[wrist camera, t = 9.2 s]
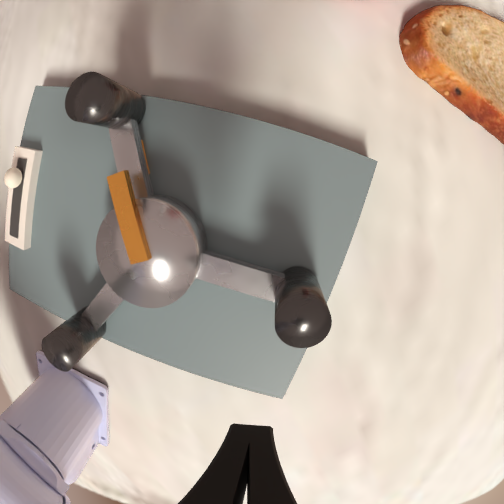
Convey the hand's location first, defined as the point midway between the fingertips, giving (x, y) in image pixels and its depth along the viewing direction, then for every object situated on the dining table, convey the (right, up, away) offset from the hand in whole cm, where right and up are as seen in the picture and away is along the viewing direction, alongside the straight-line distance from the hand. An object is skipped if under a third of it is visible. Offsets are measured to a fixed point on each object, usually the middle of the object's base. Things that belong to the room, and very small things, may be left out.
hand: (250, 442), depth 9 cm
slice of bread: (+20, +18, +5) cm, 28 cm away
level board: (-6, +8, +9) cm, 14 cm away
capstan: (-6, +9, +7) cm, 13 cm away
